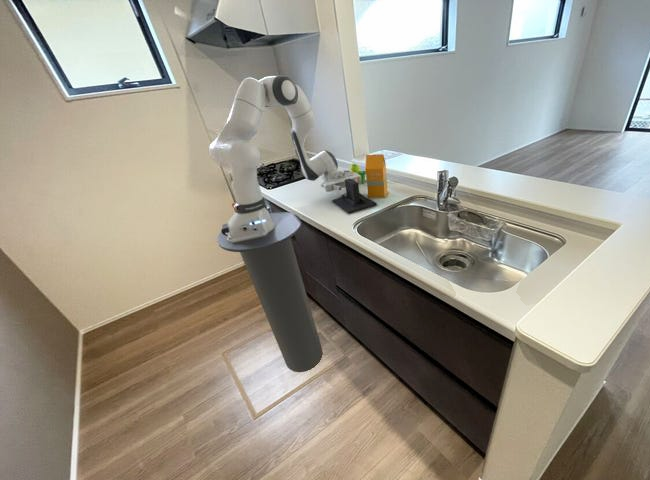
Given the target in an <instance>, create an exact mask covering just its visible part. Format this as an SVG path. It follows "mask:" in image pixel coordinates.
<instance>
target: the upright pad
mask: <svg viewBox="0 0 650 480" xmlns="http://www.w3.org/2000/svg"><path fill="white" fill-rule="evenodd" d="M344 188H345V193H346V196H347V197H348V198H349V199H351V200H352V201H354V202H355V203H356V204H359V203H361V202H360V194H361V193H360V187H359V184H358V182H356V181H354V180H352V179H346V180H345V187H344ZM359 193H360V194H359Z"/></svg>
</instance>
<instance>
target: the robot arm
mask: <svg viewBox="0 0 650 480" xmlns="http://www.w3.org/2000/svg"><path fill="white" fill-rule="evenodd" d="M271 107H272V108H281V107H284V108H285V110H286V111H287V114H288V117H289V118H290V120H291V125H292V126H291V127H292V128H291V131H290V136H291V141H292V143H293V147H294V150H295V153H296V155H297V159H298V161H299V165H300V168H301V173H302V175H303V176H304V178H305V179H306V180H307V181H312V182H314V181H316V180H317V179H318V178H320V177H321V179H322V180H323V182H322V183H320V184H319V185H320V188H323V190H324V191H325V192H326V193H329V192H332V191H341V190H342V189H344V188H346V187H345V180H346V179H352V180H354V181H356V182H358V185H360V184H362V183H361V182H362V179H361V175H359V174H357V173H354V172H352V171H351V170H350V169H349V170H338V168H339V164H338V160H337V159H336V157H335V155H334V153H332V152H331V151H330V150H329V151H328V150H322V151H320V152H319V153H317V154H316V155H314V156H312V157H311V158H310V159H309V157H308V155H307V152H306V148H305V141H306V139H307V138H308V136H309V135H310V134H311V132H312V131H313V129H314V128H315V124H316V115H315V112H314V110H313V107H312V105H311V103H310V101H309V99H308V97H307V95H306V94H305V92H304V91H303V89H302V88H301V87H300V86H299V85H298V84H295V82H294V81H293V80H292V79H291V78H290V77H288V76H287V75H269V76H265V77H263V78H258V79H256V78H253V77H246V78H244V79H243V80H242V81H241V83H240V85H239V87H238V89H237V91H236V93H235V96H234V99H233V102H232V105H231V110H230V112H229V115H228V118H227V120H226V122H225V124H224V126H223V128H222V129H221V131H220V133H219V134H218V136H217V137H216V138H215V140H213V141H212V142H211V144H209V147H208V148H209V149H208V153H209V157H210V158H211V160H212V161H213V162H215V164H217V165H219V166H221V167H223V168H229V169H230V170H231V173H232V181H231V183H230V187H231V190H232V192H233V195H234V198H235V201H236V202H234V201H233V202H231V207H232V208H233V209H234V214H233V215H232V216H231V218H229V220H228V221H227V223H224V224H221V231H220V232H222V234H223V235H225V237H226V240H227V241H228V242H230V243H235V242H240V241H244V240H249V239H253V238H258V237H262V236H266V235H267V234H268V232H270V231H271V230H273V229H274V228H275V223H274V222H273V220H272V219H271V217H270V215H269V213H268V212H269V210H268V206H267V202H266V199H265V197H264V196H263V193H262V190H261V187H260V184H259V180H258V167H259V165H260V163H261V158H262V157H261V153H260V150H259V148H258V146H257V145H255V144H254V143H252V142H250V140H251V139H252V138H253V137H254V136H255V135H257V133H258V131H259V127H260V123H261V121H262V118H263V114H264V111H265V108H271ZM225 233H226V234H225Z"/></svg>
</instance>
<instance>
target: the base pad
mask: <svg viewBox="0 0 650 480" xmlns="http://www.w3.org/2000/svg"><path fill="white" fill-rule="evenodd" d="M359 194H360V202H361V203H359V204H356V203H355V202H354V201H352V200H351V199H349V198H348V197H347V195H346V194H345V195H344V194H341V196H340V197H337V198H334V199H332V203H334V204H335V205H336V206H337V207H339V208H340V209H342V210H343V211H344V212H345V213H347V214H348V215H351V214H353V213H358V212H360V211H363V210H367V209H371V208H373V207H377V206H378V203H377V202H375V201H374V200H372V199H371V198H368V196H366V195H363V194H362V193H360V192H359Z"/></svg>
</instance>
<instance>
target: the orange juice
mask: <svg viewBox="0 0 650 480" xmlns="http://www.w3.org/2000/svg"><path fill="white" fill-rule="evenodd" d="M364 171H366V175H365V181H366V189H367V198H369V199H371V198H372V199H377V198H379V199H381V198H386V196H387V195H388V178H387V163H386V159H385V155H384V154H383V153H381V154H380V153H379V154H365V169H364Z"/></svg>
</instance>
